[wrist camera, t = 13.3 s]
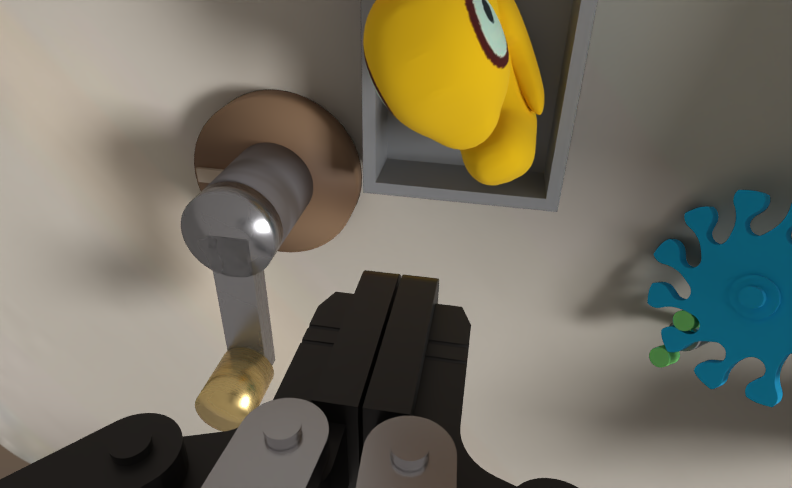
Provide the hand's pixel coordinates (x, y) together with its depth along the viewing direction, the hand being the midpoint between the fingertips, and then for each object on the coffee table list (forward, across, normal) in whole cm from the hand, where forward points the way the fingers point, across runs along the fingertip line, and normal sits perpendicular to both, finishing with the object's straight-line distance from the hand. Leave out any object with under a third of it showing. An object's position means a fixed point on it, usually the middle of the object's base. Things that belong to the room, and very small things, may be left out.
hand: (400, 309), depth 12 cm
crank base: (+19, +10, +6) cm, 22 cm away
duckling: (+18, 0, -2) cm, 18 cm away
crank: (+13, +10, +10) cm, 19 cm away
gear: (+19, -14, +9) cm, 25 cm away
